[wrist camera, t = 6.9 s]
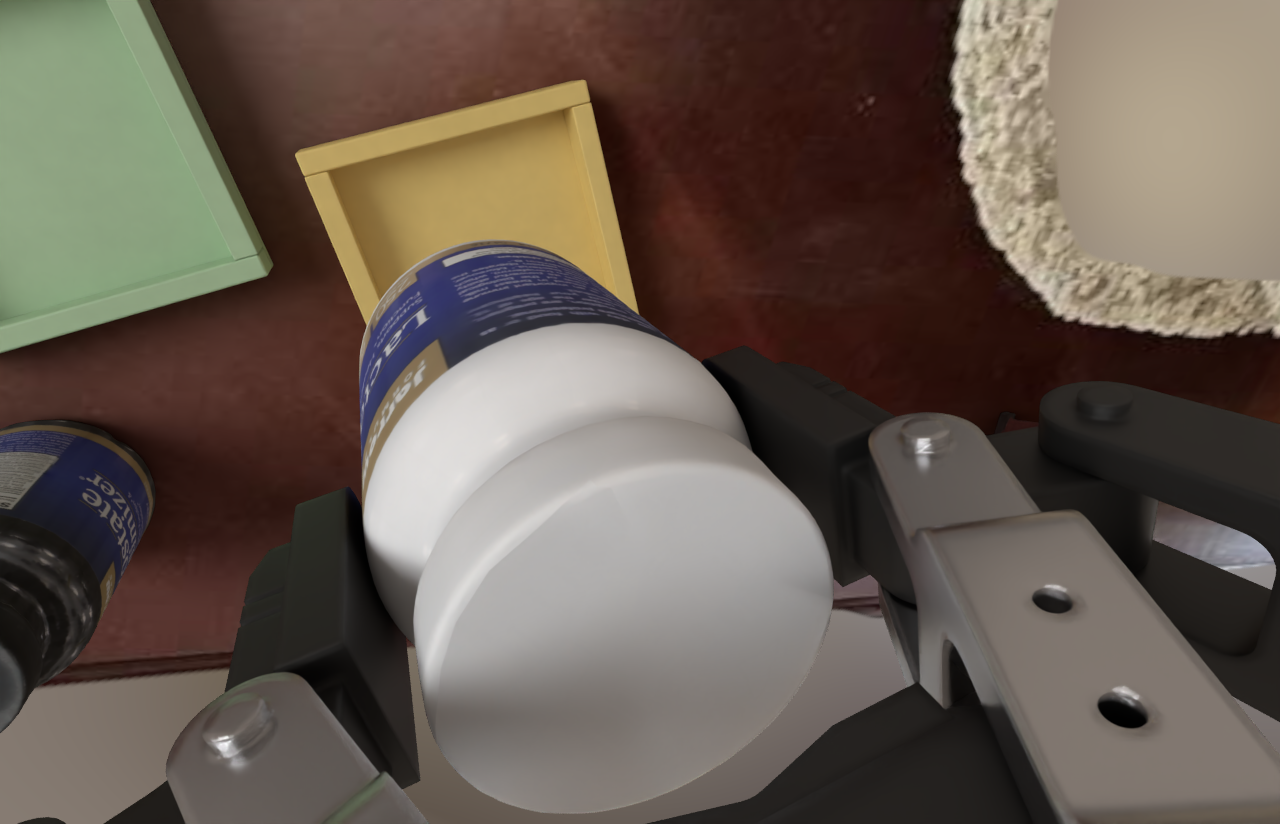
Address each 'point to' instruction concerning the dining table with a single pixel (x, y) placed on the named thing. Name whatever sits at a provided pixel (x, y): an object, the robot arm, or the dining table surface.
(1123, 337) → the dining table surface
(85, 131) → the green tray
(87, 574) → the pill bottle
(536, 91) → the yellow tray
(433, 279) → the pill bottle
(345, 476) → the dining table surface
